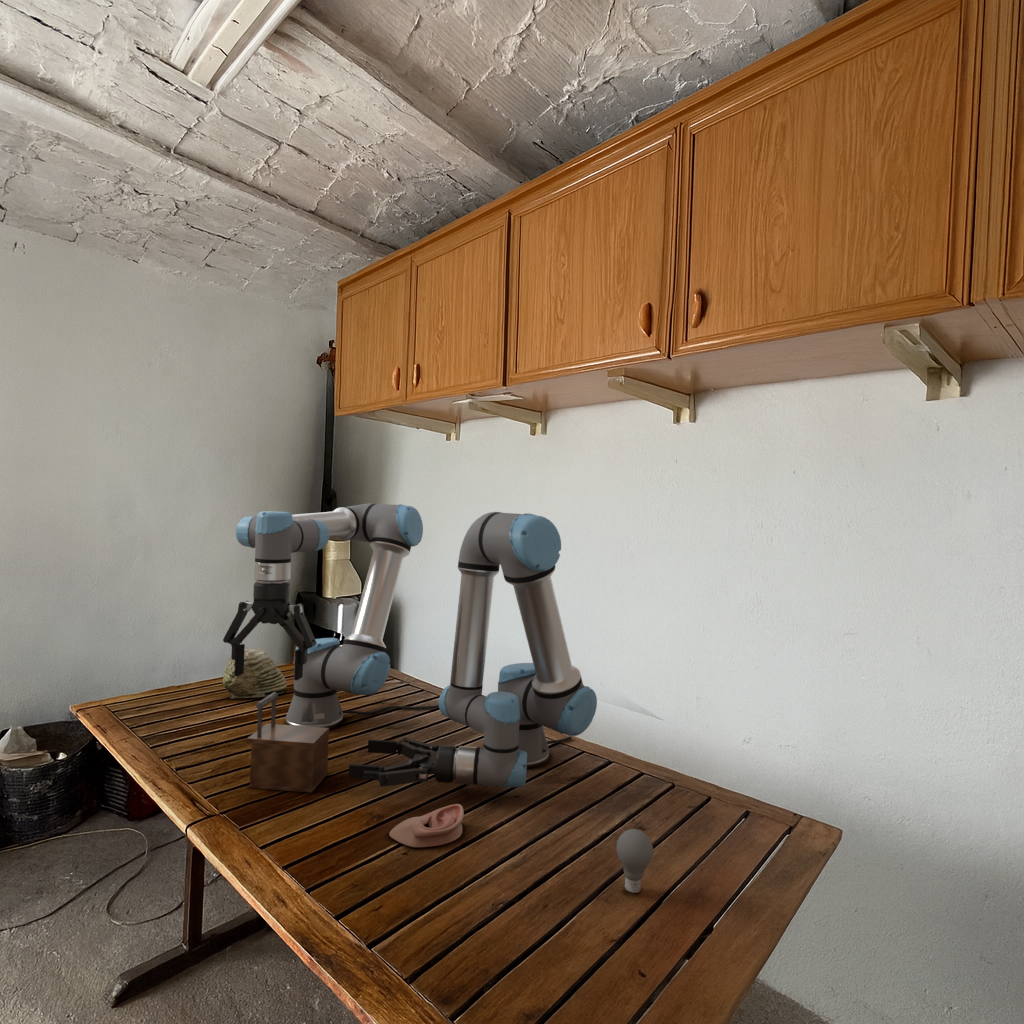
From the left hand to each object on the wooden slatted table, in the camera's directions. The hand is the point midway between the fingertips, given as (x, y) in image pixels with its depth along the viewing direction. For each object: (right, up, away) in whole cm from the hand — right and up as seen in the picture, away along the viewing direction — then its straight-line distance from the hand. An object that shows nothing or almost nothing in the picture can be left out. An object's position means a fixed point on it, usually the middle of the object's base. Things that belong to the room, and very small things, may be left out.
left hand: (268, 676), depth 140 cm
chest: (+5, -23, 0) cm, 24 cm away
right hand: (+21, -17, -2) cm, 27 cm away
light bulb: (+74, -27, -35) cm, 86 cm away
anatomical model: (+38, -25, -19) cm, 49 cm away
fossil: (-27, -21, +58) cm, 67 cm away
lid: (+5, -13, 0) cm, 14 cm away
